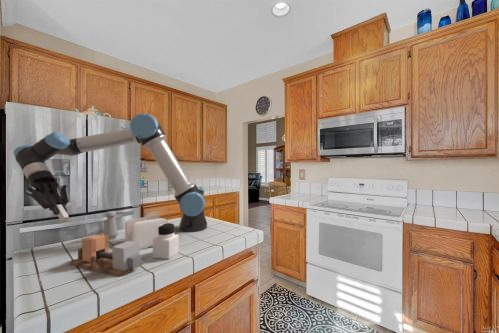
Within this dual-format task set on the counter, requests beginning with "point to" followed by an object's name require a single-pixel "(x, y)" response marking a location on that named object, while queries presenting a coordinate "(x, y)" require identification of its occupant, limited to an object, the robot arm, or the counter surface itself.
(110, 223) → the salt shaker
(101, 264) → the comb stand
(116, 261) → the block
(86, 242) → the sleeve
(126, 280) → the counter surface
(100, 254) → the dark grey rod
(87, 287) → the counter surface
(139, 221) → the cable organizer
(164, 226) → the medicine bottle
